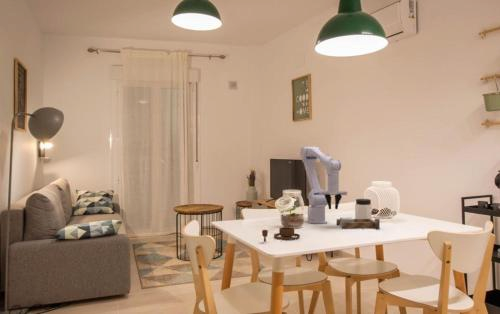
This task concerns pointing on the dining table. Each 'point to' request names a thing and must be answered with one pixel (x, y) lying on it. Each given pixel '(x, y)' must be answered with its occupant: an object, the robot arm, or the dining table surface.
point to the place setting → (283, 234)
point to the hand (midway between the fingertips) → (333, 208)
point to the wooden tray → (360, 224)
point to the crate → (346, 220)
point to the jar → (363, 209)
